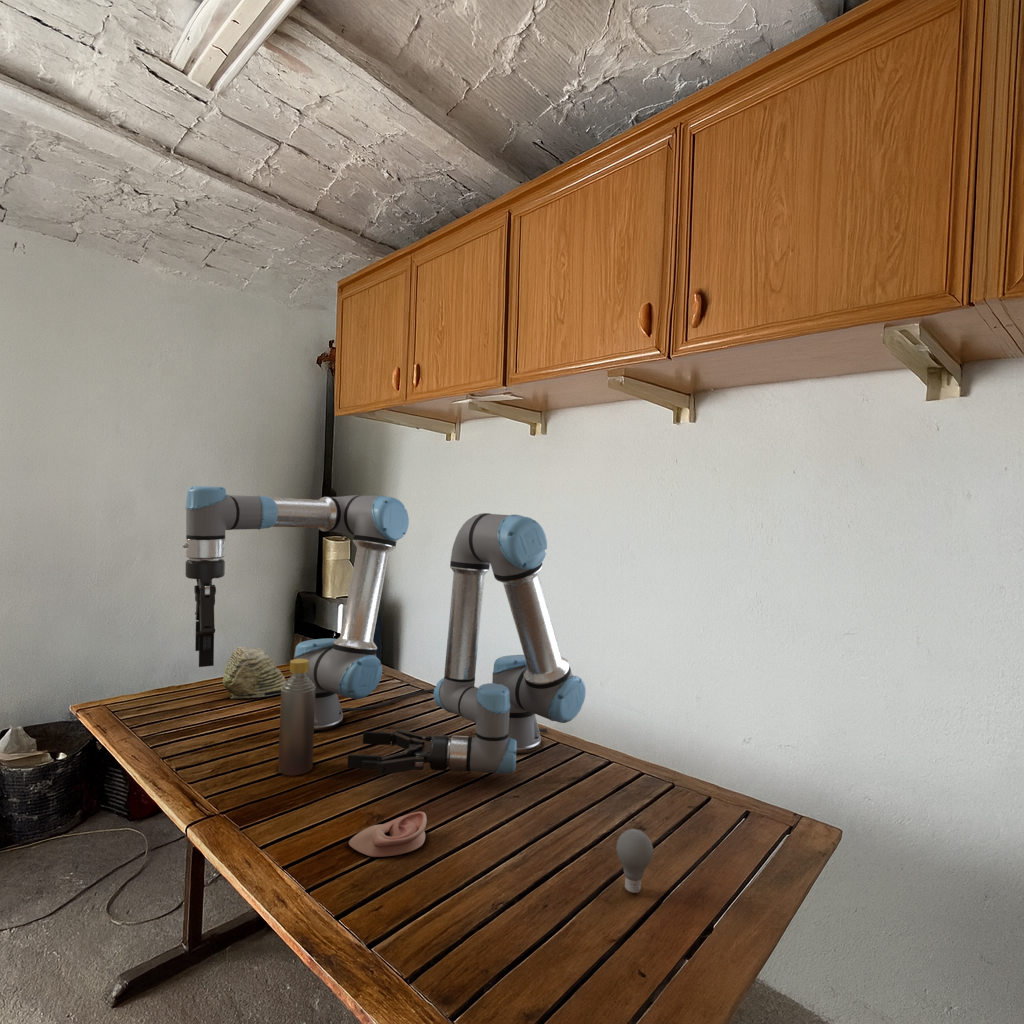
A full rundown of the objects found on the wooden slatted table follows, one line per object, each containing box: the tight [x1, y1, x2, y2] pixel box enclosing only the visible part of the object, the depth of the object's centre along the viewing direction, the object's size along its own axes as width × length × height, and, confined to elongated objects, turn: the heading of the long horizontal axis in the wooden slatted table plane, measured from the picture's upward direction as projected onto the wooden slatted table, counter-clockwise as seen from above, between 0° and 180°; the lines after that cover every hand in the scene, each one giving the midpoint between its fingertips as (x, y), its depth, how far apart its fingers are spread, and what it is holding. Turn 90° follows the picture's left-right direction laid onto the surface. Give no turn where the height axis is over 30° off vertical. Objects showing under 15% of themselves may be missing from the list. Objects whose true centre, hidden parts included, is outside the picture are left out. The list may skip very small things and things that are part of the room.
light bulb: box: [615, 828, 654, 894], centre depth 106 cm, size 6×6×10 cm
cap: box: [289, 658, 309, 674], centre depth 146 cm, size 4×4×2 cm
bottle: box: [277, 673, 316, 776], centre depth 147 cm, size 8×8×25 cm
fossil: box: [222, 646, 287, 699], centre depth 198 cm, size 9×18×15 cm, turn 132°
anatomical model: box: [348, 811, 428, 858], centre depth 117 cm, size 13×4×12 cm
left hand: (204, 658), depth 135 cm, fingers open, 13 cm apart
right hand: (356, 748), depth 145 cm, fingers open, 13 cm apart
